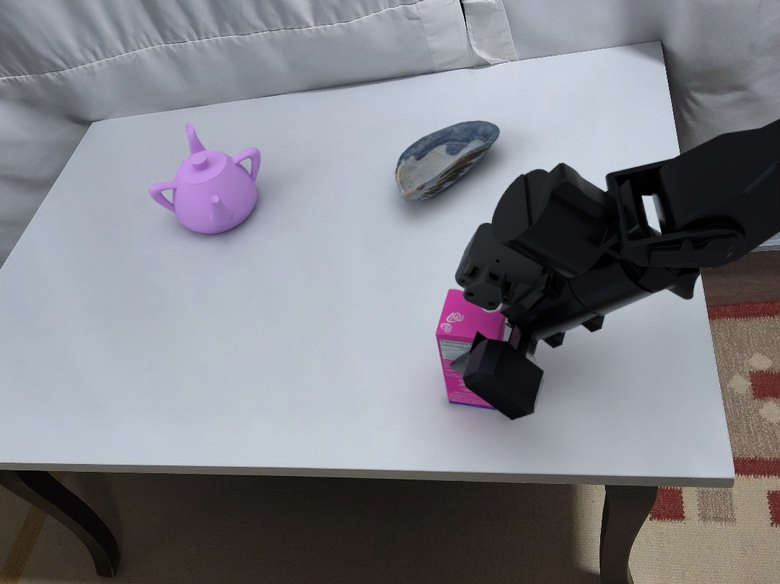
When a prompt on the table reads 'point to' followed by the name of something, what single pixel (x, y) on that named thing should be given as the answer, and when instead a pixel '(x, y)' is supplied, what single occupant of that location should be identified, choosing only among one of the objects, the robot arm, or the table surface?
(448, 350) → the supplement box
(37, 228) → the table surface
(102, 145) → the table surface
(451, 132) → the seashell
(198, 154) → the teapot
